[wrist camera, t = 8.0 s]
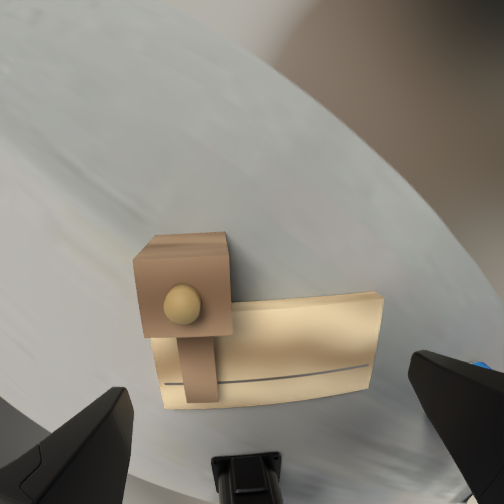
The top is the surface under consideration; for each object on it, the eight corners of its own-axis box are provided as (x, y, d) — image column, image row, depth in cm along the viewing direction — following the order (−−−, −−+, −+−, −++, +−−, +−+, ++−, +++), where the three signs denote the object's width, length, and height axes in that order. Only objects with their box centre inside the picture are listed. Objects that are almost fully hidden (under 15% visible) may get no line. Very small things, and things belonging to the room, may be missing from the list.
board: (361, 378, 24) (368, 388, 23) (166, 397, 22) (164, 409, 21) (374, 291, 22) (384, 298, 21) (150, 305, 20) (146, 315, 19)
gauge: (232, 377, 22) (240, 443, 16) (174, 379, 22) (165, 445, 15) (224, 231, 20) (230, 261, 13) (155, 235, 19) (127, 266, 13)
